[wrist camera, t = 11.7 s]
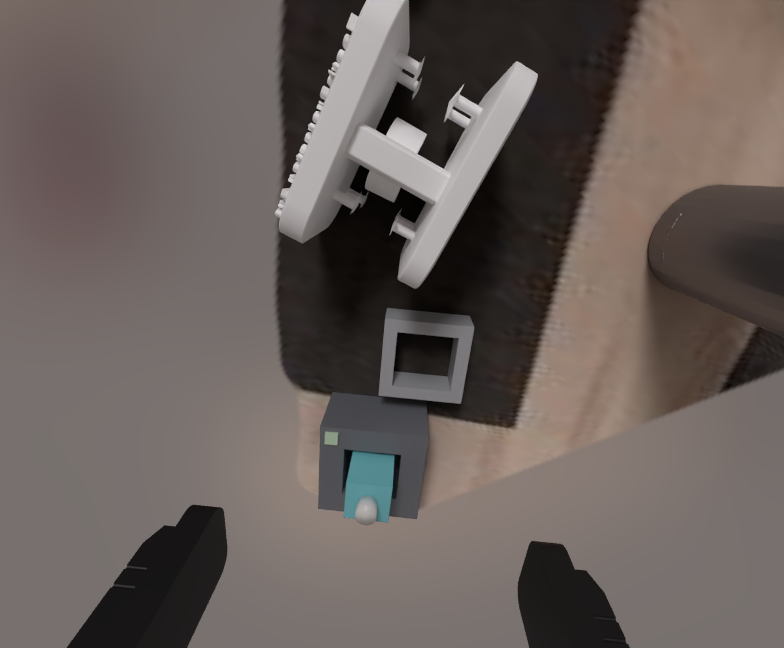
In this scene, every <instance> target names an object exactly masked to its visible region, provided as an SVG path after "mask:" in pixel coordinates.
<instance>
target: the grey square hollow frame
mask: <svg viewBox="0 0 784 648" xmlns="http://www.w3.org/2000/svg"><path fill="white" fill-rule="evenodd" d="M397 332H400V333H411V334H421V335H431V336H441V337H452V338H454V339H453V345H452V351H451V358H450V364H449V370H448V377H446V376H436V375H426V374H416V373H406V372H396V371H394V361H395V351H396V341H397ZM473 332H474V325H473V323H472V320H471V318H470V316H466V315H456V314H445V313H435V312H425V311H414V310H404V309H394V308H387V311H386V317H385V327H384V339H383V350H382V362H381V374H380V385H379V396H388V397H398V398H408V399H418V400H428V401H438V402H448V403H458V404H461V401H462V395H463V389H464V383H465V378H466V372H467V366H468V361H469V355H470V349H471V344H472V338H473Z"/></svg>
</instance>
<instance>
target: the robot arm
mask: <svg viewBox="0 0 784 648" xmlns="http://www.w3.org/2000/svg"><path fill="white" fill-rule="evenodd" d="M649 261H650V265H651V268H652V270H653V272H654V274H655V275H656V277H657V278H658V279H659V280H660V281H661V282H662V283H664V284H665V285H667V286H668V287H670V288H672V289H675V290H677V291H679V292H681V293H684V294H686V295H688V296H691V297H693V298H695V299H698V300H699V301H702V302H704V303H706V304H709V305H711V306H713V307H716V308H718V309H720V310H723V311H725V312H727V313H729V314H732V315H734V316H736V317H739V318H741V319H743V320H746V321H748V322H750V323H753V324H755V325H757V326H760V327H762V328H764V329H767V330H769V331H771V332H773V333H776V334H778V335H780V336H783V337H784V187H769V186H745V185H713V186H706V187H703V188H700V189H697V190H694V191H692V192H690V193H688V194H686V195H684V196H683V197H681V198H680V199H679V200H677V201H676V202H675V203H673V204H672V205H671V206H670V207H669V208H668V209H667V210H666V212H665V213H664V214H663V215H662V216H661V218H660V219H659V221H658V222H657V224H656V226H655V228H654V230H653V233H652V235H651V239H650V244H649ZM226 557H227V539H226V529H225V518H224V511H223V509H222V508H220V507H211V506H201V505H192V506H190V507H189V508H188V509H187V510H186V512H185V513H184V515H183V516H182V518H181V519H180V521H179V522H178V524H177V525H176V527H175V526H165V525H164V526H163V527H162V528H161V529H160V530H158V531H157V532H156V533H155V534H153V535H152V536H151V537H150V538H148V539H147V540H146V541H145V542H144V543H143V544H142V545H141V547H140V548H139V549H138V551H137V552H136V553H135V555H134V556H133V557H132V559H131V560H130V562H129V563H128V564H127V568H126V569H124V570H123V571H122V573H121V574H120V575H119V577H118V578H117V579H116V581H115V582H114V585H113V587H112V588H110V589H109V590H108V592H107V593H106V595H105V596H104V597H103V599H102V600H101V601H100V603H99V604H98V605H97V607H96V608H95V610H94V611H93V612H92V614H91V615H90V616H89V618H88V619H87V621H86V622H85V623H84V625H83V626H82V628H81V629H80V630H79V632H78V633H77V634H76V636H75V637H74V639H73V640H72V641H71V643H70V644H69V645H68V647H67V648H187V646H188V644H189V642H190V640H191V638H192V636H193V634H194V632H195V630H196V627H197V625H198V623H199V621H200V619H201V617H202V614H203V613H204V611H205V609H206V606H207V604H208V602H209V600H210V598H211V596H212V594H213V592H214V590H215V587H216V585H217V583H218V581H219V579H220V577H221V574H222V572H223V569H224V566H225V562H226ZM518 602H519V608H520V612H521V616H522V620H523V624H524V628H525V632H526V636H527V640H528V644H529V648H630V647H629V645H628V644H626V641H625V639H626V638H625V637H624V634H623V632H622V630H621V628H620V626H619V623H617V622H616V617H615V615H614V613H613V611H612V608H611V606H610V604H609V602H608V600H607V598H606V595H605V593H604V592H603V591H602V589H601V588H600V587H599V586H598V585H597V583H596V582H595V581H594V580H593V578H592V577H591V576H590V575H589V574H588V572H587V571H584V570H575V569H574V567H573V564H572V562H571V559H570V557H569V555H568V552H567V550H566V548H565V547H564V546H563V545H562V544H557V543H546V542H537V541H532V542H530V544H529V547H528V550H527V554H526V557H525V560H524V564H523V567H522V571H521V574H520V577H519V582H518Z"/></svg>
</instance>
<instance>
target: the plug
mask: <svg viewBox="0 0 784 648" xmlns="http://www.w3.org/2000/svg"><path fill="white" fill-rule="evenodd" d="M394 456H395V454H386V453H376V452H367V451H357V450H353V453H352V458H351V463H350V468H349V472H348V477H347V482H346V493H345V506H344V517H345V518H354V519H356V520H357V522H359V523H360V524H363V525H370V524H373V523H374V522H375V521H380V522H388V518H389V511H390V504H391V496H392V489H393V473H394Z"/></svg>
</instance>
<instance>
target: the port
mask: <svg viewBox="0 0 784 648" xmlns="http://www.w3.org/2000/svg"><path fill="white" fill-rule="evenodd" d="M428 440H429V432H428V417H427V403H426V401H416V400H406V399H396V398H386V397H376V396H366V395H356V394H346V393H336V392H332V395H331V398H330V401H329V404H328V406H327V409H326V412H325V415H324V417H323V420H322V423H321V426H320V459H319V502H318V503H319V504H318V505H319V506H318V509H325V510H336V511H344V506H345V493H346V482H347V477H348V472H349V468H350V463H351V458H352V453H353V450H357V451H367V452H376V453H386V454H395V456H394V473H393V489H392V496H391V504H390V511H389V516H393V517H403V518H413V519H417V514H418V508H419V501H420V494H421V488H422V481H423V474H424V467H425V460H426V453H427V447H428Z"/></svg>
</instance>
